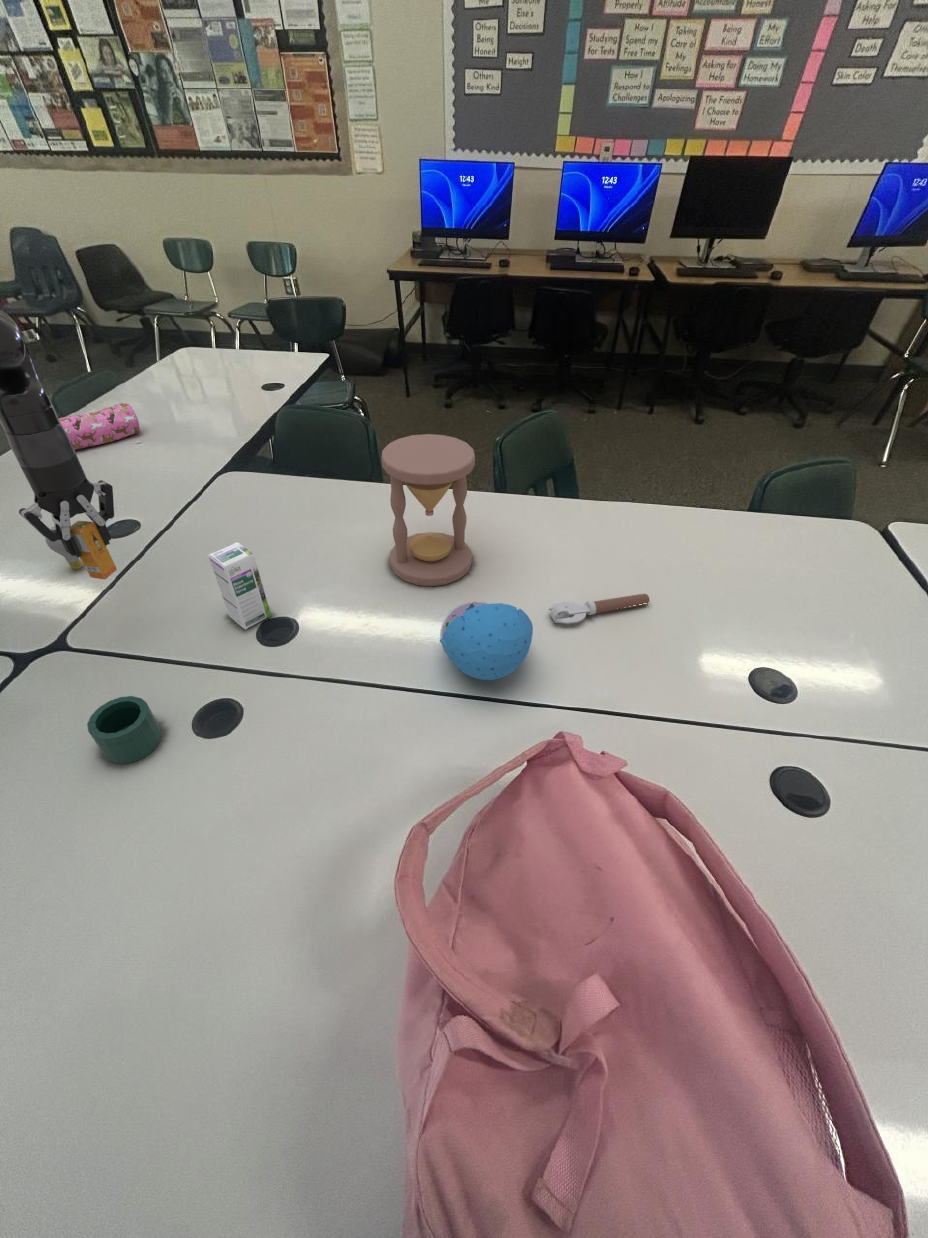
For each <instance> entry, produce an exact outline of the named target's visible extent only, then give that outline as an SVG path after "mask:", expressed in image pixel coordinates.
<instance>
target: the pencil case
mask: <svg viewBox="0 0 928 1238" xmlns="http://www.w3.org/2000/svg"><path fill="white" fill-rule="evenodd" d="M58 419H59V421H60V423H61V425H62V426H63V428H64V430H65V431H66V433H67V435H68V437H69V439H70V441H71V442H72V444H73V446H74V450H75V451H76V450H80V449H85V448H89V447H95V446H98V445H99V446H100V445H103V444H107V443H111V442H114V441H119V440H122V439H125V438H126V437H130V436H133V435H137V434H139V433H140V431H141V429H140V422H139V418H138V416H137V413H136V412H135V410H134V409H133V407H132V405H131V404H129V403H127V402H119V403H118V404H114V405H113V406H110V407H105V408H102V409H99V410H95V411H90V412H85V413H82V414H75V415H69V416H64V417H63V416H62V417H60V418H59V417H58Z"/></svg>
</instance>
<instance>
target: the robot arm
mask: <svg viewBox="0 0 928 1238" xmlns="http://www.w3.org/2000/svg"><path fill="white" fill-rule="evenodd" d="M0 425H1V427H2V429H3V431H4V434H5V435H6V439H7V442H8V445H9V447H10V449H11V451H12V453H13V455H14V457H15V460H16V461H17V463H18V465H19V467H20V468H21V471H22V472H23V474H24V476H25V478H26V480H27V482H28V484H29V486H30V488H31V490H32V491H33V494H34V498H33V501H34V502H33V503H32V504H30V506H28V507H27V508H25V507H21V508H20V509H19V510H18V515H20V516H21V517H22V518H23V519H24V520H25V521H27V522H28V524H30V525H31V526H32V527H33V528H34V529H35V530H36V531H37V532H39V534H41V535H42V536H43V537H44V538H45V537H46V538H48V539H49V540H50V541H52V542H55V541H57V540H61V542H62V544H63V546H64V548H65V550H66V552H68V553H69V554H70V555H72V556H75V557H77V558H79V559H80V557H81V556H82V554H81V552H80V550H79V548H78V546H77V544H76V542H75V540H74V538H72V537H71V534H70V526H72V524H71V519H72V518H74V517H75V516H76V515H81V514H85V515H86V516H87V517H88V519H90V522H94V523H95V524H96V527H97V529H98V531H99V533H100V535H101V537H102V539H103V541H104V543H105V545H106V546H108V545H110V544H111V543H110V541H111V540H112V536H111V534H110V532H109V529H108V527H107V521H108V520H110V519H113V518H114V517H115V505H114V503H115V502H114V489H113V488H114V487H113V485H111V484H110V483H108V482H106V481H105V480H103V479H101V480H100V479H99V480H98V481H97V482H91V481H90V480H88V478H87V476H86V473H85V471H84V469H83V467H82V464H81V462H80V459H79V457H78V455H77V453H76V450H74V446H73V444H72V442H71V441H70V439H69V437H68V435H67V433H66V431H65V430H64V428H63V426H62V425H61V423H60V421H59V417H58V415H57V412H56V409H55V407H54V405H53V403H52V401H51V399H50V397H49V395H48V393H47V392H46V390H45V388H44V386H43V385H42V383H41V381H40V378H39V376H38V373H37V370H36V367H35V364H34V362H33V360H32V357H31V354H30V351H29V349H28V346H27V343H26V341H25V338H24V335H23V334H22V331H21V329H20V328H19V326H18V325H17V323H16V322H15V320H14V318H12V317H11V316H10V315H9V314H8V313H6V312H5V311H2V309H0ZM94 493H95V494H96V495H97V497H98V509H99V511H98V510H97V509H96V508H95V507H94V506H93V504H91V503H92V500H93V495H94ZM42 510H43V511H46V512H48V513H50V514H51V520H52V523H53V525H54V526H55V530H50V528H49V526H47V525H46V524H45V523H44V522H43V521H42V519H43V514H42V513H41V512H42ZM54 526H53V527H54Z"/></svg>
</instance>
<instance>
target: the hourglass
mask: <svg viewBox="0 0 928 1238" xmlns="http://www.w3.org/2000/svg"><path fill="white" fill-rule="evenodd" d="M475 465H476V456H475V450H474V448H473V447H471V445H469V443H467V442H466V441H464V440H462V439H459V438H457V437H453V436H448V435H444V434H433V433H432V434H431V433H425V434H412V435H409V436H404V437H401V438H397V439H395V440H393V441H392V442H389V443H388V444H387V445H386V446H385V447H384V448H383V449H382V451H381V467H382V468H383V470H384V471H385V472H386V474H387V475H389V477H390V499H389V501H390V502H389V503H390V507H391V510H392V513H393V516H394V521H393V526H392V537H393V541H394V546H393V547H392V549H391V550H390V555H389V566H390V568H391V569H392V572H393V573H394V575H395V576H397V577H398V578H400V579H401V580H402V581H404V582H406V583H409V584H412V585H416V586H423V587H437V586H445V585H449V584H451V583H454V582H456V581H459V580H460V579H461V578H463V577H464V576H465V575H466V574H468V573H469V570H470V569H471V566H472V565H473V564H472V563H473V556H472V550H471V548H470V547H469V546H468V544H467V543H466V542H465V538H466V537H465V536H466V535H465V534H466V533H465V532H466V526H467V518H468V517H467V513H466V509H465V506H464V505H465V502H466V498H467V495H468V484H467V483H468V482H467V475H469V474H470V473H472V471H473V469H474V468H475ZM404 483H405V486H406V488H407V489H408V490H409V492H410V493H411V494H412V495H413V496H414V497H415V499H416V500H417V501H418V503H419V504H420V505H421V506H422V507H423V508H424V509H425V511H424V513H425V516H427V517H431V516H433V515H434V509H435V507H437V505H439V503H440V501H441V500H442V499H443V497H444V496H445V495H446V493H448V491H449V489H450V488H451V486H452V497H453V500H454V503H455V506H454V510H453V513H452V516H451V517H452V522H451V523H452V527H453V535H451V534H449V533H444V532H432V531H429V532H419V533H414V534H412V535H409V536H408V534H409V533H408V528H407V524H406V521H405V518H404V516H405V515H404V514H405V511H406V506H407V500H406V499H407V498H406V494H405V490H404Z"/></svg>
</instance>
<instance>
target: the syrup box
mask: <svg viewBox="0 0 928 1238" xmlns="http://www.w3.org/2000/svg"><path fill="white" fill-rule="evenodd" d="M207 557H208V559H209V563H210V566H211V569H212V571H213V573H214V577H215V579H216V583H217V585H218V589H219V591H220V593H221V597H222V600H223V602H224V604H225V608H226V611H227V613H228V617H230V618H231V620H233V621H234V622H235V623H236V624H237V625H238V626H240V627H241V628H242V629H243V630H248V629H249V628H250V627H253V626H254V625H257V624H259V623H260V622H262V621H264V620H266V619H267V618H270V617H272V613H271V610H270V606H269V603H268V599H267V596H266V593H265V588H264V585H263V582H262V579H261V575H260V571H259V568H258V564H257V561H256V557H255V554H254V553H253V552H252V551H251V550H250V549H248V548H247V547H246V546H245V545H242V544H241V543H239V542H238V541H236V542H234V543H233V544H230V545H228V546H226V547H223V548H221V549H219V550H216V551H213V552H211V553H209V554H208V555H207Z"/></svg>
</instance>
